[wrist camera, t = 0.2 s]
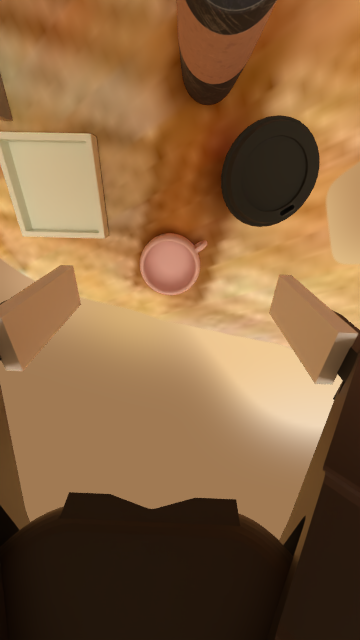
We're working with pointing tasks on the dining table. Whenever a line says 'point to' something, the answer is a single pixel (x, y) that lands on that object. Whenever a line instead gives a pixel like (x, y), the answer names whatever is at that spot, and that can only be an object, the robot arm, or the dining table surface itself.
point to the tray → (55, 183)
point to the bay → (4, 104)
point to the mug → (171, 263)
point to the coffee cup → (270, 171)
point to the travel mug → (217, 43)
